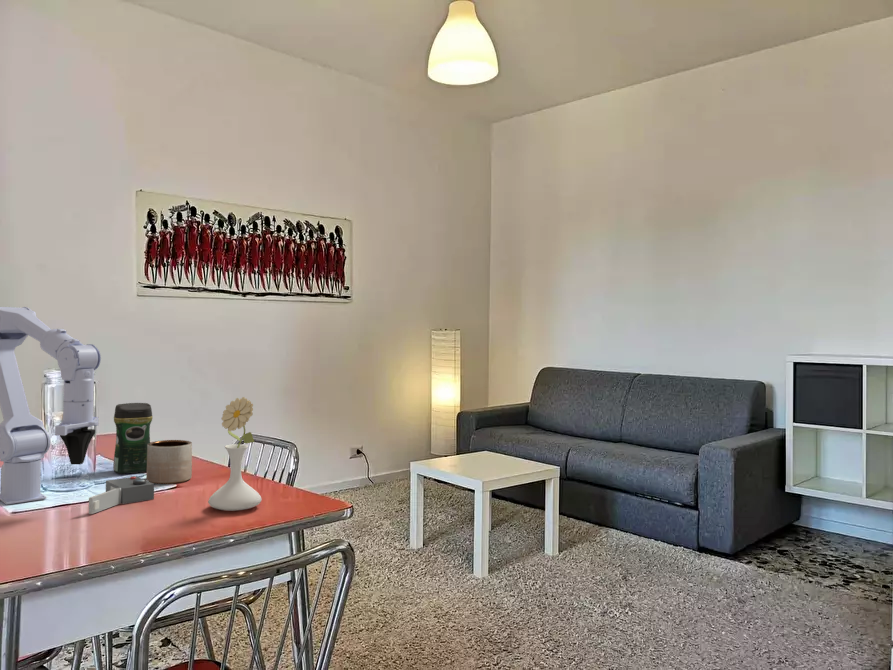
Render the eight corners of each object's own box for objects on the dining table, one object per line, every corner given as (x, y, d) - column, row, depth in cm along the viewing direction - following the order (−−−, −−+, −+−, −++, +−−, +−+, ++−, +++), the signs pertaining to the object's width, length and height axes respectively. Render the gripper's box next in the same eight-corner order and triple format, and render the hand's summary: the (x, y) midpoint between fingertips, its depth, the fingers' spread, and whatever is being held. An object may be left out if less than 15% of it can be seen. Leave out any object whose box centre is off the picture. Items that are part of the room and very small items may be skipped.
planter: (192, 483, 175) (193, 445, 175) (145, 486, 171) (146, 447, 171) (191, 474, 185) (191, 439, 185) (147, 476, 181) (147, 440, 181)
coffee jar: (148, 466, 193) (150, 400, 193) (154, 472, 186) (155, 403, 186) (110, 470, 188) (112, 402, 188) (114, 475, 181) (116, 405, 181)
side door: (93, 514, 145) (94, 498, 145) (88, 513, 145) (88, 497, 145) (123, 503, 154) (123, 487, 154) (117, 502, 154) (118, 487, 154)
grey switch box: (105, 495, 161) (105, 477, 161) (136, 491, 166) (136, 473, 166) (122, 504, 154) (122, 485, 154) (153, 499, 159) (154, 480, 159)
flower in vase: (200, 506, 154) (202, 394, 153) (248, 499, 161) (251, 392, 161) (223, 519, 144) (225, 400, 143) (273, 511, 151) (276, 397, 151)
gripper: (80, 405, 141) (78, 471, 141) (112, 397, 156) (111, 457, 156) (45, 404, 141) (43, 470, 141) (81, 396, 155) (79, 456, 156)
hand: (77, 463), depth 148 cm, fingers closed
